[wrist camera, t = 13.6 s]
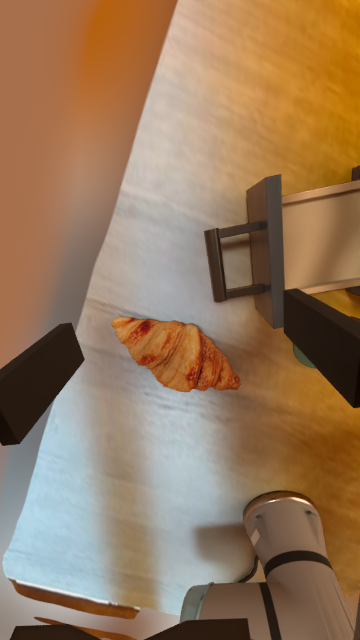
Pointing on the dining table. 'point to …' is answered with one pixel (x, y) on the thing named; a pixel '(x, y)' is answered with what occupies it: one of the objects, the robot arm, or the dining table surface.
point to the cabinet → (357, 174)
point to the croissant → (176, 354)
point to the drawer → (293, 244)
